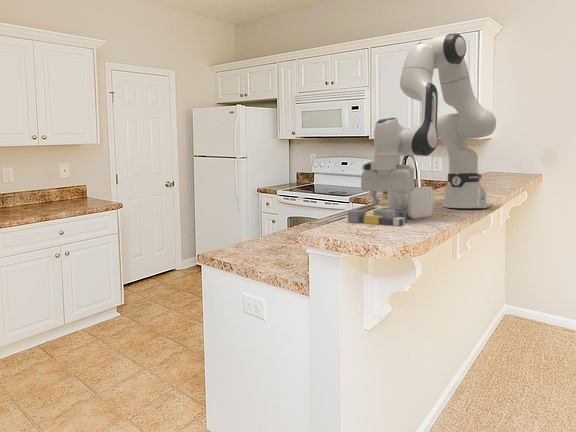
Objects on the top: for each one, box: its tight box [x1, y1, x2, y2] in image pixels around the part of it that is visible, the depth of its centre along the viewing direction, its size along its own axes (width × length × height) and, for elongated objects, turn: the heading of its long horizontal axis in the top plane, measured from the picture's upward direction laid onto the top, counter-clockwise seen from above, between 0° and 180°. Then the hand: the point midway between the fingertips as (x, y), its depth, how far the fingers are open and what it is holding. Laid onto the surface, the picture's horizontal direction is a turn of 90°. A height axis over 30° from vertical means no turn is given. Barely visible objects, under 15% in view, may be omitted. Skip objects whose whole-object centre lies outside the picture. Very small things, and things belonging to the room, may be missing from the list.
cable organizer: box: [387, 186, 434, 220], centre depth 173 cm, size 15×11×12 cm
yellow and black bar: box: [359, 214, 405, 227], centre depth 155 cm, size 4×16×3 cm, turn 44°
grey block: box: [347, 209, 367, 224], centre depth 162 cm, size 5×5×4 cm
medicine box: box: [372, 207, 407, 222], centre depth 162 cm, size 8×4×9 cm
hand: (387, 204), depth 163 cm, fingers open, 8 cm apart
